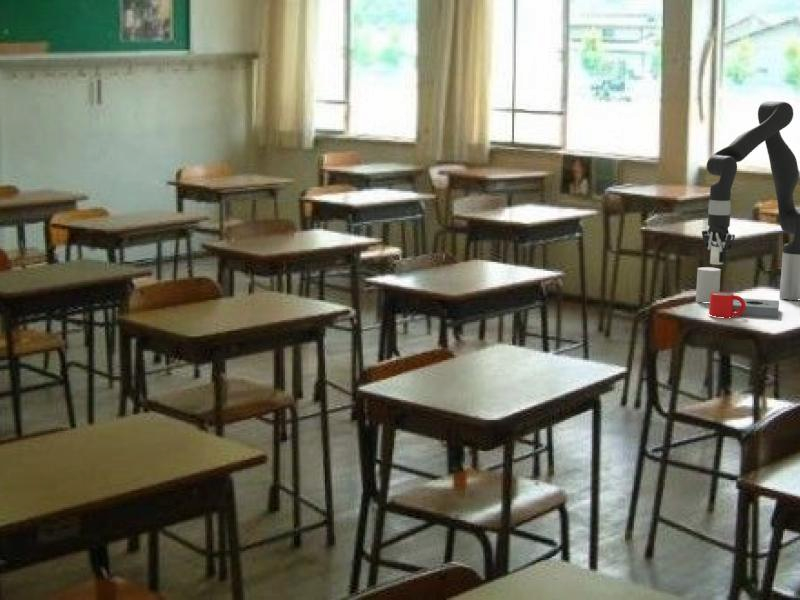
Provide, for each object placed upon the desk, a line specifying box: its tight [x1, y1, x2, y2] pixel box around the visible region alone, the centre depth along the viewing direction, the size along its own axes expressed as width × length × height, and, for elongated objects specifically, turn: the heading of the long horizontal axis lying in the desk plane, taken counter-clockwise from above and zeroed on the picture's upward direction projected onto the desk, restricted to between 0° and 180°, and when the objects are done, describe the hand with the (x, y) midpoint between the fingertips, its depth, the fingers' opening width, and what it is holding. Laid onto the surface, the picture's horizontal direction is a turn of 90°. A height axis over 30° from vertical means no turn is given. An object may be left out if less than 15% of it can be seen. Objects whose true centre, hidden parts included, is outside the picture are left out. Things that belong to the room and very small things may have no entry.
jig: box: [733, 297, 780, 319], centre depth 455 cm, size 16×16×4 cm
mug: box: [708, 291, 746, 319], centre depth 447 cm, size 8×12×8 cm, turn 73°
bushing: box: [709, 245, 724, 266], centre depth 459 cm, size 4×4×6 cm
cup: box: [695, 266, 722, 303], centre depth 475 cm, size 8×8×12 cm
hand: (716, 261), depth 460 cm, fingers closed on bushing, 4 cm apart
